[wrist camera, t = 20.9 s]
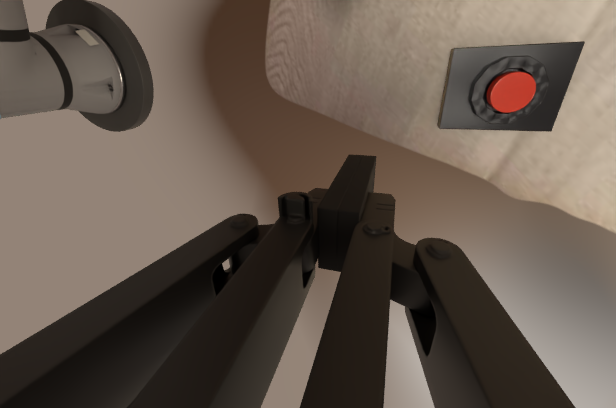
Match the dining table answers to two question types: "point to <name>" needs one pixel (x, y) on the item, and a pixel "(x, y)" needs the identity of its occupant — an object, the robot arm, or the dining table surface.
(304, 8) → the dining table surface
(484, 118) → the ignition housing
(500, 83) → the button
